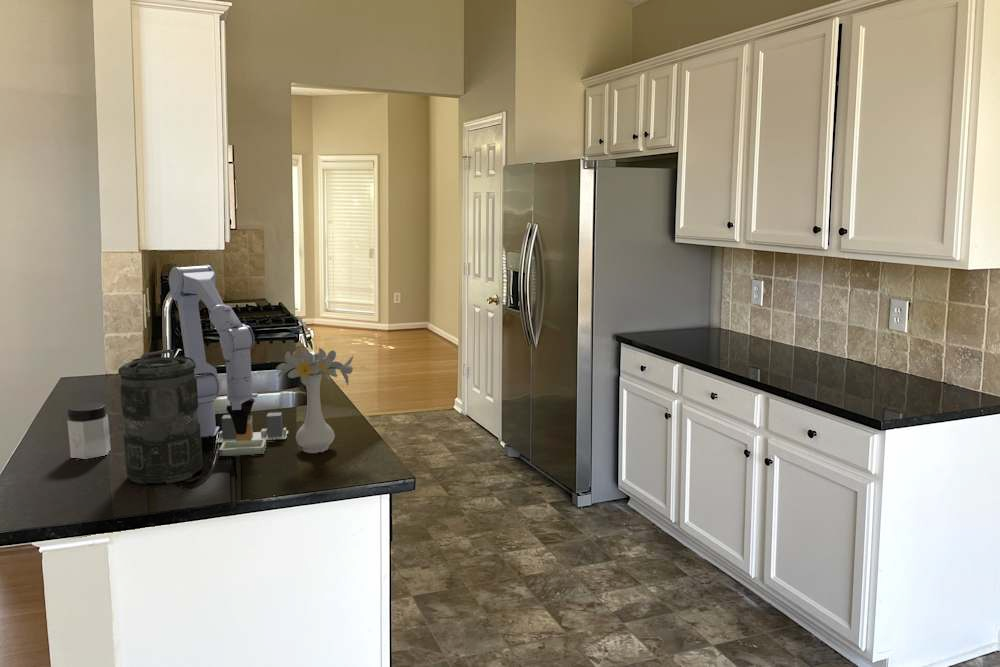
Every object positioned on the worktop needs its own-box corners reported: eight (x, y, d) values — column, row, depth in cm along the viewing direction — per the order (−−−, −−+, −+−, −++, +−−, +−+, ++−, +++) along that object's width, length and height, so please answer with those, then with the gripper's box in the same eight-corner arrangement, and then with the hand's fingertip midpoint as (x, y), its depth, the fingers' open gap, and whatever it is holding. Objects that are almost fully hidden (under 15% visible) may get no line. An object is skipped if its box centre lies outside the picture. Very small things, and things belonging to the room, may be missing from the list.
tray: (219, 457, 195) (218, 449, 194) (224, 448, 202) (223, 441, 201) (263, 454, 196) (263, 447, 196) (266, 445, 203) (266, 439, 203)
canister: (156, 491, 172) (146, 361, 167) (111, 478, 180) (101, 353, 176) (218, 470, 185) (210, 349, 181) (173, 458, 194) (165, 342, 189)
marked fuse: (236, 441, 196) (234, 418, 196) (238, 436, 200) (237, 415, 199) (251, 440, 197) (250, 418, 196) (253, 436, 200) (252, 414, 200)
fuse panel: (216, 444, 205) (215, 420, 204) (221, 436, 212) (219, 413, 211) (286, 440, 208) (285, 417, 207) (288, 432, 215) (287, 410, 214)
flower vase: (362, 450, 199) (359, 350, 195) (286, 462, 191) (281, 357, 187) (346, 437, 211) (342, 341, 206) (274, 447, 202) (269, 348, 198)
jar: (62, 458, 194) (58, 409, 192) (89, 448, 202) (84, 401, 200) (92, 461, 192) (88, 412, 190) (118, 451, 199) (114, 403, 197)
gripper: (252, 382, 189) (255, 439, 192) (259, 370, 204) (262, 422, 206) (221, 384, 188) (224, 440, 191) (230, 371, 202) (233, 424, 205)
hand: (242, 431), depth 198 cm, fingers closed on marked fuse, 3 cm apart
